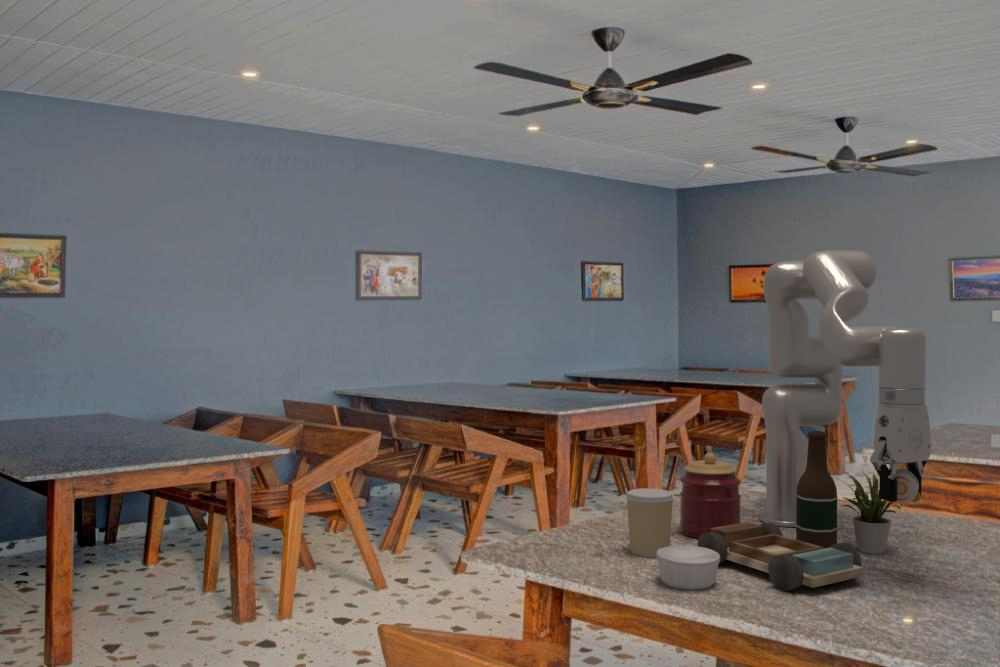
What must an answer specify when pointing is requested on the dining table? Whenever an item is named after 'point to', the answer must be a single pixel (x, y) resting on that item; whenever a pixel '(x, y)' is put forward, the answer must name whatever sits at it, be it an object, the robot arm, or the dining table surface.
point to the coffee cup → (649, 520)
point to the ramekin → (688, 566)
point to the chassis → (783, 555)
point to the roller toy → (906, 487)
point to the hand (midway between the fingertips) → (900, 497)
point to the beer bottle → (816, 497)
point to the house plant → (870, 518)
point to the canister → (709, 496)
